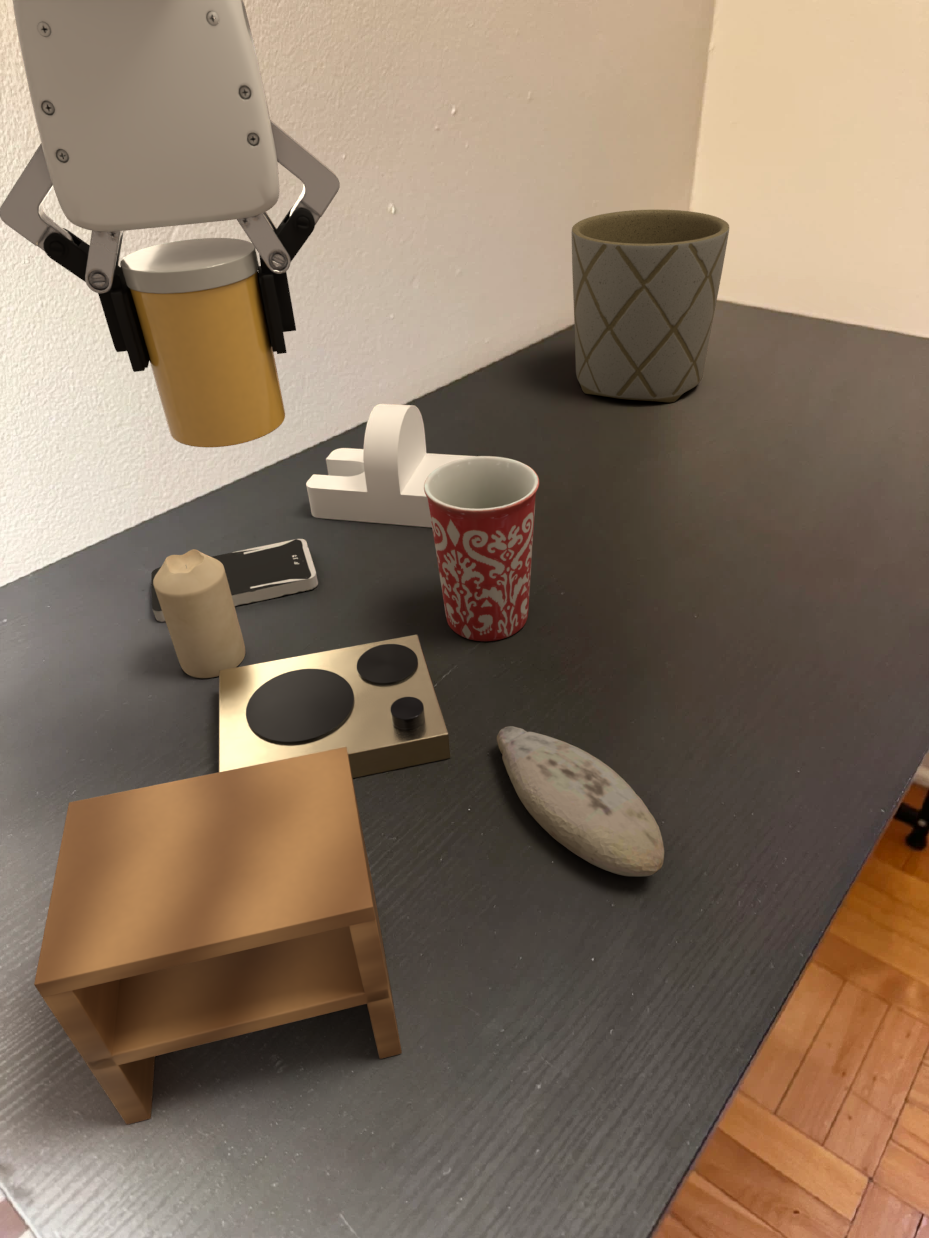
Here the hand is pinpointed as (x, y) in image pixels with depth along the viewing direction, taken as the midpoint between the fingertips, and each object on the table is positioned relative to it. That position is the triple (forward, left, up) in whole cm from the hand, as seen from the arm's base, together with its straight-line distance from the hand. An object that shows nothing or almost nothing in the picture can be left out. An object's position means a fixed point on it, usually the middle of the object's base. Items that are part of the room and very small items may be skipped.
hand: (211, 351), depth 45 cm
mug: (+18, +13, -30) cm, 37 cm away
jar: (0, 0, -4) cm, 4 cm away
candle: (-7, +13, -30) cm, 33 cm away
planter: (+50, +58, -30) cm, 82 cm away
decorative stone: (+17, -11, -30) cm, 36 cm away
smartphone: (-5, +24, -30) cm, 39 cm away
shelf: (-4, -19, -30) cm, 36 cm away
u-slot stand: (+13, +35, -30) cm, 48 cm away
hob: (+2, +2, -30) cm, 30 cm away
